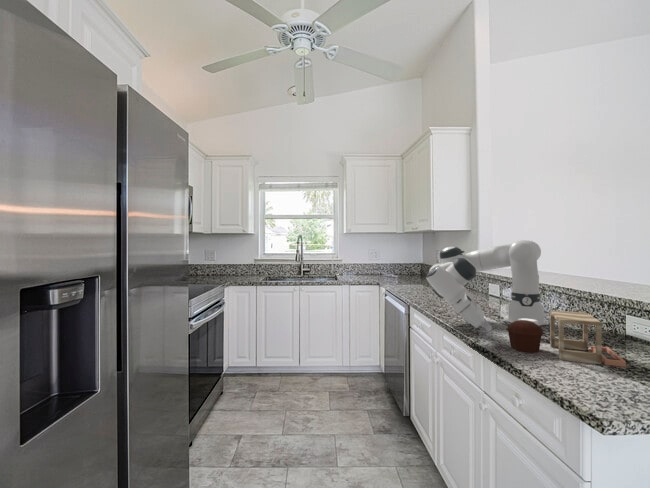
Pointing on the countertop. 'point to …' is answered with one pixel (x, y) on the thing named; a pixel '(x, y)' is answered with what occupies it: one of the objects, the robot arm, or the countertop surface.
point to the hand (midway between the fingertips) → (490, 329)
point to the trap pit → (610, 357)
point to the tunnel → (576, 344)
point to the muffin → (525, 336)
